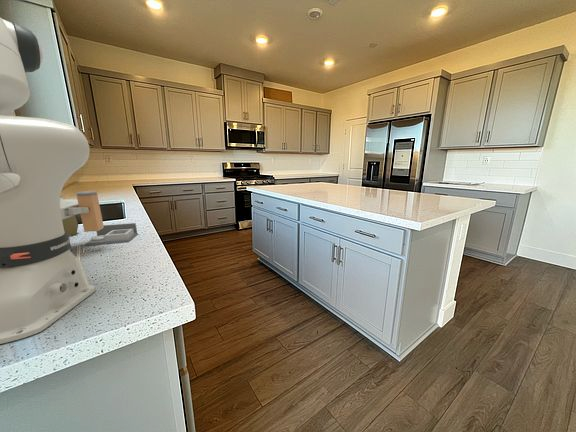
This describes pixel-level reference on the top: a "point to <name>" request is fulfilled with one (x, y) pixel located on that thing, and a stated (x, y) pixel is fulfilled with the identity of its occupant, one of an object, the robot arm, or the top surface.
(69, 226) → the squeeze bottle
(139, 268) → the top surface
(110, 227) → the housing
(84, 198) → the grey-capped orange post
